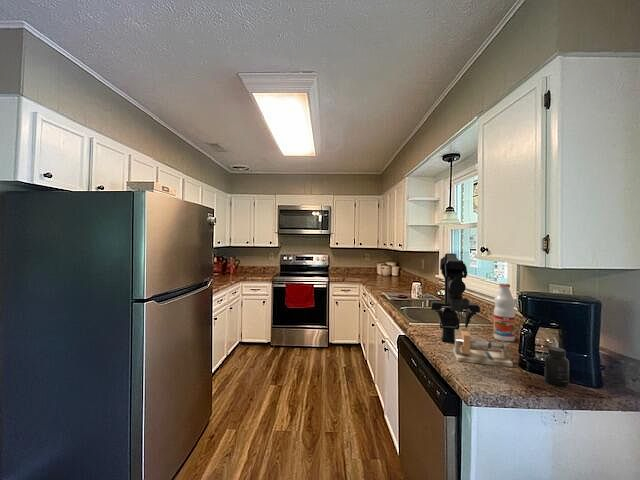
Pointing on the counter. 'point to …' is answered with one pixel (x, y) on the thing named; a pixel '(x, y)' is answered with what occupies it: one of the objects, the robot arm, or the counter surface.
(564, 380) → the supplement bottle
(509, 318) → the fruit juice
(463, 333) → the slotted orange block
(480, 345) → the pipe
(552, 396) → the counter surface
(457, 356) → the stand
